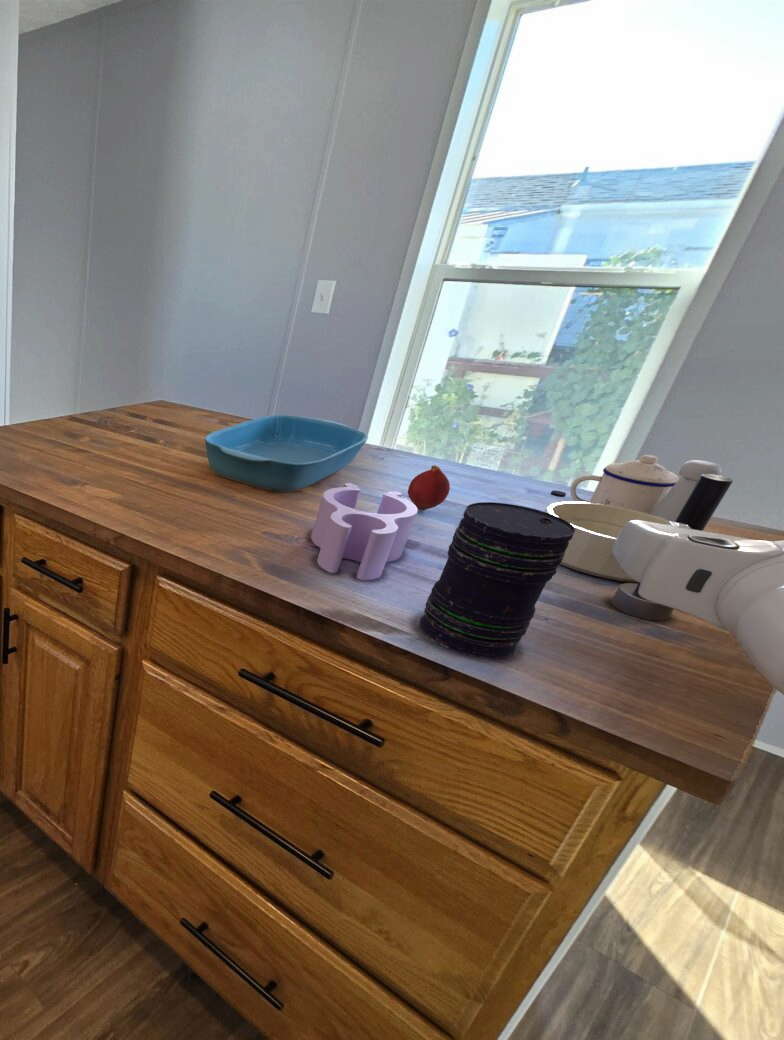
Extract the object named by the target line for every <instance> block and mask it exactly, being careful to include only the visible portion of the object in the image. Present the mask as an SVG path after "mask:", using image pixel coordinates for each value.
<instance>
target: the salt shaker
mask: <svg viewBox="0 0 784 1040" xmlns="http://www.w3.org/2000/svg"><path fill="white" fill-rule="evenodd" d="M722 473H723V468H722V466H721V465H719V464H717V463H715V462H711V461H708V460H707V461H706V460H699V459H693V460H692V459H691V460H687V461H685V462H683V463H682V465H681V466H680V468H679V470H678V476H680V478H679V480H678V481H677V483H676V484H675V485H674V486H673V487H672V488H671V490H670V491H669V492H668V493H667V494H666V495H665V497H664V498H663V499H662V500H661V501H660V503H659V504H658V505H657V506H656V507H655V508H654V510H653V511H652V512H651V513H650V515H654V516H657V517H660V518H663V519H666V520H668V521H671V522H675V520H676V518H677V517H678V515H679V513H680V512H681V510H682V508H683V506H684V505H685V503H686V501H687V499H688V498H689V496H690V494H691V493H692V491H693V489H694V487H695V486H696V484H697V482H698V481H699V479H700V477H701V475H703V474H712V475H719V476H722Z"/></svg>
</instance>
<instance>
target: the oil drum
mask: <svg viewBox="0 0 784 1040" xmlns="http://www.w3.org/2000/svg"><path fill="white" fill-rule="evenodd" d="M550 495H552V496H553V497H557V498H565V497H566V496H567V492H564V491H561V490H552V491H551V492H550ZM462 516H463V517H462V518H461V519H460V522H459V524H458V526H457V527H456V529H455V531H454V533H453V536H452V540H451V542H450V544H449V545H448V550H447V556H448V557H447V559H446V562H445V564H444V567H443V569H442V572H441V574H440V577H439V579H438V580H436V581H435V583H434V584H433V586H432V588H431V592H430V594H429V595H428V598H427V599H426V602H425V608H424V610H423V615H422V616H421V617H420V620H419V622H418V627H419V629H420V631H421V632H422V633H423V634H424V635H425V636H426V638H428V639H429V640H431V641H432V642H434V643H435V644H437V645H439V646H441V647H444V648H445V649H448V650H450V651H453V652H456V653H459V654H461V655H465V656H469V657H474V658H480V659H488V660H496V659H497V660H498V659H501V660H502V659H505V658H509V657H511V656H512V655H514V654H515V652H516V650H517V647H518V643H520V641H521V640H522V638H523V636H524V635H526V633H527V631H528V629H529V627H530V625H531V623H530V622H531V621H532V619H534V617H535V613H536V604H537V602H538V600H539V598H540V597H541V594H542V592H543V590H544V588H545V586H546V584H547V583H548V582H550V581H551V580H552V579H553V577H554V576H555V575H556V573H557V569H558V567H559V566H560V565H561V564H560V563H561V561H562V559H563V557H564V555H565V551H566V549H567V547H568V545H569V542H568V541H570V540H571V539H572V537H573V535H574V533H575V531H576V530H575V528H574V526H573V525H571V524H570V523H569V522H567V521H565V520H563V519H561V518H559V517H557V516H554V515H552V514H549V513H546V512H545V511H543V510H540V509H536V508H532V507H527V506H523V505H518V504H512V503H506V502H505V503H504V502H491V501H489V502H488V501H483V502H475V503H470V504H468V505H467V506H466V507H465V509H464V512H463V515H462Z"/></svg>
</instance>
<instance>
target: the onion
mask: <svg viewBox="0 0 784 1040" xmlns="http://www.w3.org/2000/svg"><path fill="white" fill-rule="evenodd" d="M450 490H451V485H450V481H449V479H448V477H447V475H446V474H445V473H444V472H443V471H442V469H441V467H439V465H436V464H434V465H431V468H430V469H428V470H425V471H423V472H420V473H418V474H417V475H415V476H414V477H413V479H412V480H411V481H410V483H409V485H408V489H407V495H408V499H410V502H412V503H413V504H414V505H415V506H416V507H417V509H418V511H420V512H423V511H427V510H430V509H433V508H436V507H437V506H439V505H441V504H442V503H443V502H445V500H446V499H447V497H448V495H449V494H450Z"/></svg>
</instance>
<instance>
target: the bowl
mask: <svg viewBox="0 0 784 1040" xmlns="http://www.w3.org/2000/svg"><path fill="white" fill-rule="evenodd" d="M544 512H546V513H549V514H552V515H554V516H557V517H559V518H561V519H563V520H565V521H567V522H569V523H570V524H571V525H573V526H574V528H575V530H576V531H575V533H574V535H573V537H572V539H571V540H570V541H568V542H569V545H568V547H567V549H566V551H565V555H564V557H563V559H562V561H561V563H560V565H561V566H564V567H567V568H569V569H572V570H574V571H577V572H580V573H584V574H587V575H591V576H595V577H598V578H604V579H607V580H608V579H609V580H613V581H619V582H626V583H638V582H637V581H635V580H633V579H632V578H630V577H629V576H628V575H627V574H626V573H625V572H624V571H623V570H622V568H621V567H620V566H619V564H618V563H617V561H616V559H615V557H614V555H613V552H612V549H613V545H614V543H615V541H616V539H617V537H618V535H619V533H620V531H621V530H622V528H623V527H624V525H625V524H626V523H627V522H628V521H632V520H642V521H647V522H653V523H659V524H665V525H666V524H667V523H668V522H669V521H668V520H666V519H663V518H660V517H657V516H654V515H650V514H647V513H644V512H640V511H635V510H631V509H627V508H622V507H617V506H611V505H605V504H599V503H588V502H575V501H561V502H560V501H559V502H554V503H550V504H549V505H548V506H547V507H546V508H545V511H544Z"/></svg>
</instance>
